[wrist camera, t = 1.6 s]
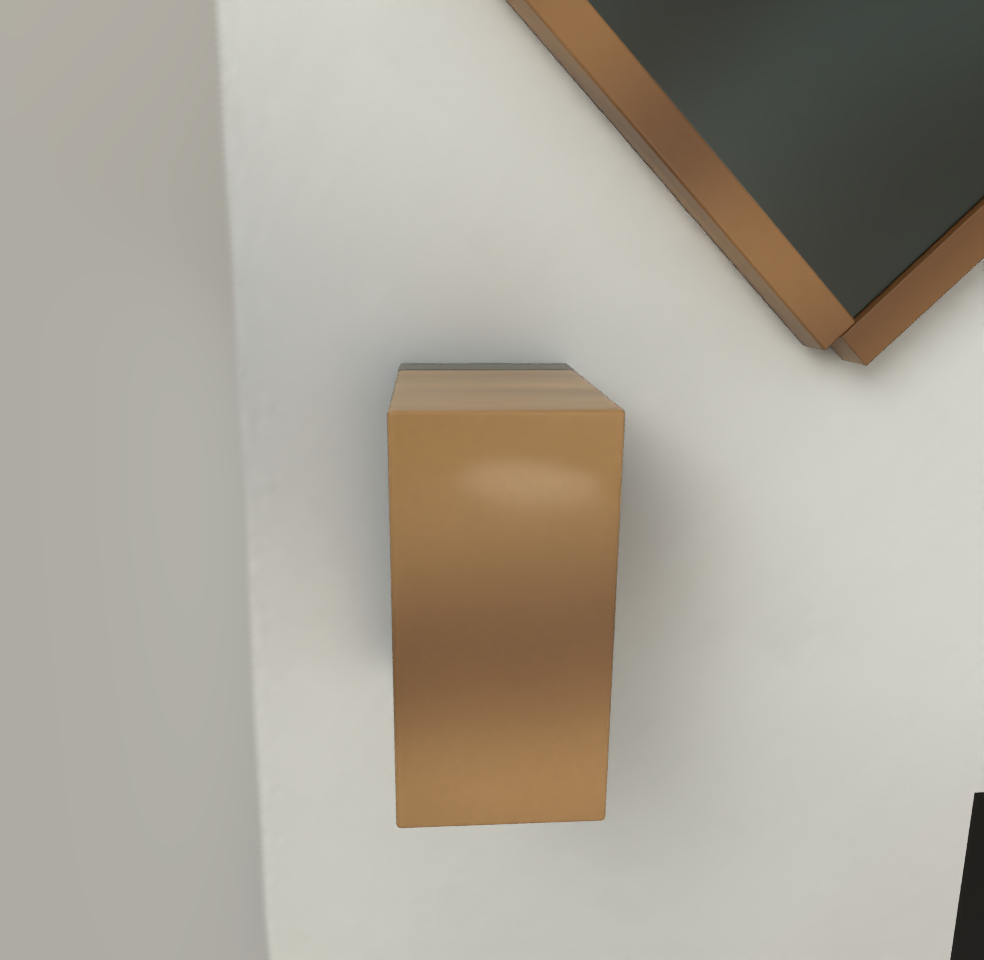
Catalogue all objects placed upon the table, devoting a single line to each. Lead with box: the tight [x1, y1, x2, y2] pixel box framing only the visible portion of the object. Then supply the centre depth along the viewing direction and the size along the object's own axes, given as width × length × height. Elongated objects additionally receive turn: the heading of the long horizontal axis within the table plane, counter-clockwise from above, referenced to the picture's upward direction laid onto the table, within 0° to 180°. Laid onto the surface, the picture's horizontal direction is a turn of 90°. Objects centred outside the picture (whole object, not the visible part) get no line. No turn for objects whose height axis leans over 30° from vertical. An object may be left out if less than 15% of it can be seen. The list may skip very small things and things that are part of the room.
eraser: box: [387, 364, 625, 828], centre depth 23 cm, size 10×5×8 cm, turn 178°
